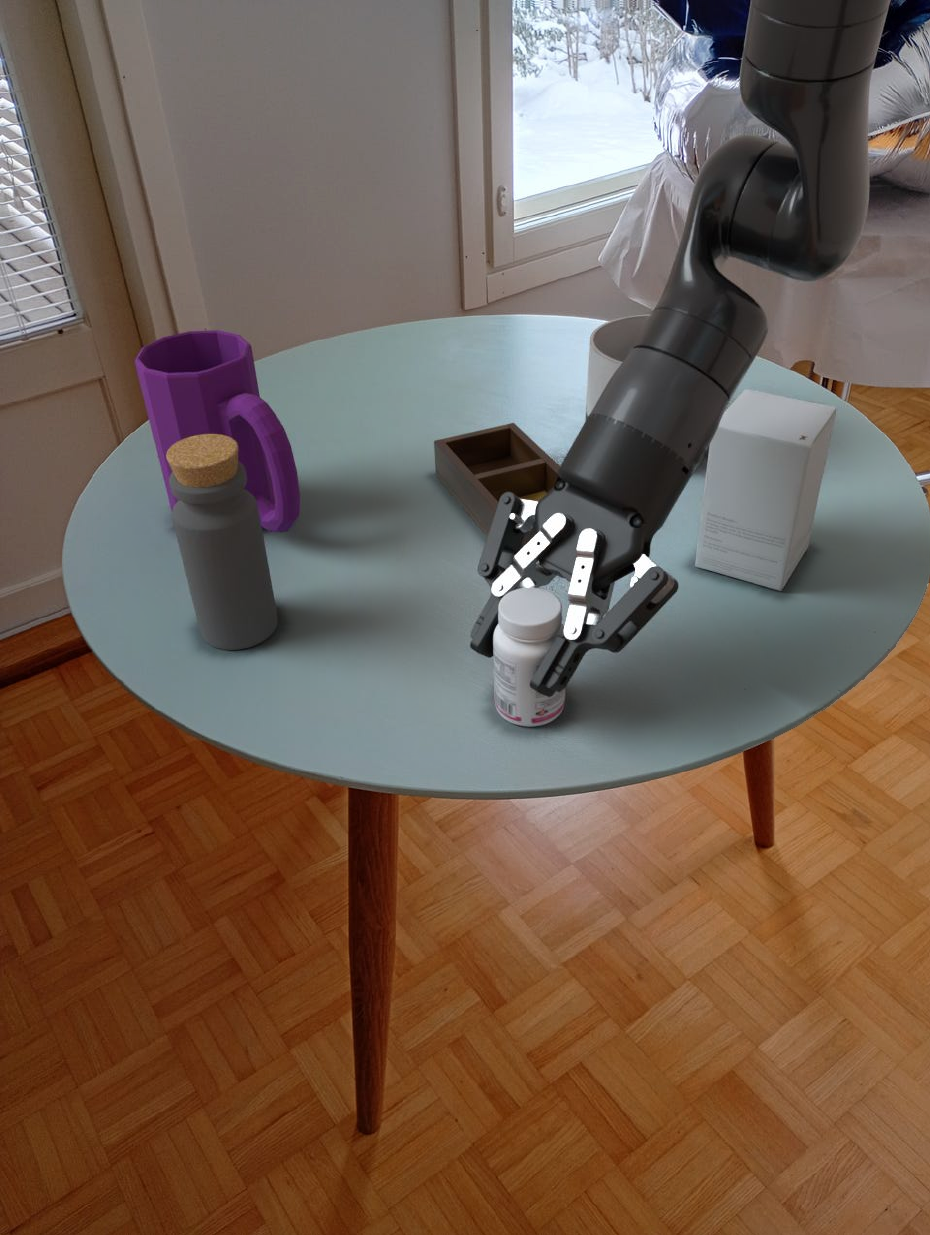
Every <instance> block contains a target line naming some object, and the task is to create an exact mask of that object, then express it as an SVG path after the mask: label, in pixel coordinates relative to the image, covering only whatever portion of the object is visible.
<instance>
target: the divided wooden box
mask: <svg viewBox="0 0 930 1235" xmlns="http://www.w3.org/2000/svg"><path fill="white" fill-rule="evenodd" d="M433 451H434V452H433V453H434V466H435V467H434V469H435V476H436V478H437V479H438V480H439V481H440V483H442V485H443V486H444V487H445V488H446V490H447V491H448V492H449V493H450V494H451V495H452V496H453V498H454V499H455V500H456V502H458V504H459V505H460V507H461V508H462V509H463V510H464V511H465V512H466V513H467V515H468V516H469V517H470V518H471V519H472V521H473V522H474V523H475V524H476V525H477V527H478V528H479V529H480V530H481V532H482V533H483V534H484V535H485V536H486V538H487V537H488V533H489V530H490V527H491V524H492V521H493V518H494V515H495V512H496V509H497V506H498V503H499V499H500V497H501V496H502V494H504V493H505V492H512V493H513V494H515V495H516V496H517V497H519V498H520V499H525V500H532V501H539V500H540V499H541V498H542V497H543V496H545V495H546V494H547V493H549V492H550V491H551V490H552V488H553V487H554V486H555V484H556V480H557V476H558V470H559V467H560V465H559V464H558V463H557V462H556V461H555V460H554V459H553V458H552V457H551V456H550V455H549V454H547V452H546V451H544V450H543V449H542V448H541V446H539V445H538V444H537V443H536V441H534V440H533V439H531V437H530V436H529V435H528V434H527V433H526V432H525V431H523V430H522V429H521V428H520V426H518V425H517V424H516V423H515V422H510V423H506V424H502V425H498V426H493V427H489V428H484V429H480V430H475V431H473V432H467V433H462V434H458V435H453V436H449V437H445V438H440V439H435V440H433ZM532 526H533V528H532V530H531V531H527V532H526V533H525V536H524V539H523V542H522V545H521V549H522V548H523V547H524V546H525V545H526V544H527V543H528V542H529V541H530V540H531V539H532V538H533V537H534V536H535V522H534V523H533V524H532ZM521 549H520V550H521Z"/></svg>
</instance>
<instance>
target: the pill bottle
mask: <svg viewBox="0 0 930 1235" xmlns="http://www.w3.org/2000/svg"><path fill="white" fill-rule="evenodd" d="M498 622H499V623H498V625H497V626H496V628H495V631H494V636H493V657H492V658H493V692H494V693H493V695H494V696H493V697H494V698H493V699H494V704H495V708H496V711H497V712H498V714H499V715H500V716H501V717H502V718H503V719H504V720H505V721H507V722H509V723H512V724H514V725H517V726H522V727H539V726H544V725H546V724H547V725H548V724H549V723H551V722H553V721H554V720H556V719H557V718H558V717H559V716H560V715H561V714H562V711H563V710H564V707H565V702H566V688H564V689H563V690H562V691H561V692H560V693H559V692H557V691H556V692H555V693H554V694H553V695H552V696H551V697H548V696H545V695H543V694H540V693H538V692H537V691H535V690H534V689H532V688H531V687H530V681H531V679H532V678H533V676H534V674H535V672H536V671H537V669H538V667H539V665H540V664H541V662H542V660H543V658H544V657H545V655H546V653H547V652H548V650H549V648H550V646H551V645H552V643H553V641H554V639H555V638H556V636H557V635H559V636H561V637H563V635H564V626H565V625H564V624H563V606H562V601H561V600H560V599H559V597H558V596H557V595H555V593H553V592H551V591H549V590H546V589H543V588H540V587H539V588H520V589H516V590H513V591H511V592H509V593H507V594H506V595H505V596H504V597H503V598H502V599H501V600H500V603H499V607H498Z"/></svg>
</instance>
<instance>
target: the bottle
mask: <svg viewBox="0 0 930 1235" xmlns="http://www.w3.org/2000/svg"><path fill="white" fill-rule="evenodd" d="M166 458H167V460H168V463H169V465H170V467H171V469H172V471H173V472H172V473H171V475H170V477H169V484H170V488H171V492H172V494H173V495H174V497H176V498H177V499H178V500H179V501H178V502H177V503H176V505H175V506H174V508H173V511H171V517H172V524H173V528H174V532H175V536H176V539H177V544H178V548H179V552H180V553H179V554H180V556H181V560H182V564H183V568H184V573H185V576H186V577H185V578H186V581H187V585H188V590H189V593H190V598H191V602H192V605H193V610H194V614H195V617H196V622H197V626H198V627H199V633H200V635H201V637H202V639H203V640H204V641H205V642H206V643H207V644H208V645H209V646H211V647H213V648H216V649H220V650H223V651H224V650H225V651H235V650H236V651H237V650H244V649H249V648H251V647H254V646H257V645H259V644H261V643H263V642H265V641H266V640H267V639H268V638H270V637H271V636H272V635H273V633H274V632H275V631H276V629H277V626H278V624H279V623H278V622H279V621H278V620H279V618H278V612H277V604H276V599H275V594H274V588H273V582H272V577H271V571H270V566H269V560H268V555H267V554H268V553H267V550H266V542H265V537H264V532H263V527H262V526H261V521H260V516H259V511H258V506H257V502H256V499H255V498H254V496H253V495H252V494H251V493H250V492H248V491H247V490H245V489H244V487H245V486H246V483H247V475H246V470H245V467H244V466H243V464H242V463H241V462H239V461H238V444H237V442H236V441H235V440H234V439H232V438H230V437H228V436H225V435H220V434H202V435H196V436H191V437H188V438H185V439H182V440H180V441H178V442H176V443H175V444H173V445H172V446H171V447H170V448H169V449H168V451H167V454H166Z"/></svg>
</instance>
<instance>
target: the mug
mask: <svg viewBox="0 0 930 1235" xmlns="http://www.w3.org/2000/svg"><path fill="white" fill-rule="evenodd" d="M254 359H255V358H254V354H253V348H252V344H250V343H249V342H248V341H247V340H246V339H245V338H244V337H243V336H242V335H241V334H237V333H234V332H228V331H224V330H218V329H213V330H211V329H210V330H188V331H185V332H181V333H176V334H171V335H167V336H163V337H160V338H159V339H157V340H155V341H153V342H151V343H149V344H147V345H144V346H143V347H142V348H141V349H140V351H139V353H138V354H137V356H136V358H135V360H134V365H135V367H136V373H137V377H138V380H139V385H140V389H141V393H142V397H143V401H144V404H145V408H146V409H145V410H146V414H147V418H148V421H149V426H150V429H151V433H152V437H153V438H152V439H153V442H154V445H155V450H156V453H157V454H156V455H157V458H158V463H159V466H160V470H161V474H162V479H163V482H164V486H165V490H166V495H167V498H168V502H169V507H170V510H171V512H172V511H173V508H174V506H175V505H176V503H177V502H178V501H179V500H178V499H177V498H176V497H174V495H173V494H172V492H171V488H170V484H169V477H170V475H171V473H172V472H173V471H172V469H171V467H170V465H169V463H168V460H167V458H166V454H167V451H168V449H169V448H170V447H171V446H172V445H173V444H175V443H176V442H178V441H180V440H182V439H185V438H188V437H191V436H196V435H202V434H220V435H225V436H228V437H230V438H232V439H234V440H235V441H236V442H237V444H238V461H239V462H241V463H242V464H243V466H244V467H245V470H246V475H247V483H246V486H245V487H244V489H245V490H247V491H248V492H250V493H251V494H252V495H253V496H254V498H255V499H256V502H257V506H258V511H259V516H260V521H261V527H262V529H263V528H264V529H266V530H267V531H269V532H272V533H286V532H288V531H289V530H291V528H293V526H294V525H295V523H296V522H297V520H298V518H300V513H301V490H300V482H299V475H298V468H297V465H296V461H295V457H294V453H293V449H292V444H291V441H290V440H289V437H288V434H287V432H286V430H285V427H284V426H283V425H282V422H281V421H280V419H279V418H278V416H277V415H276V412H275V411H274V410H273V409H272V407H271V405H269V403H268V402H267V401H265V400H264V399H263V398H262V397H261V395H260V390H259V384H258V378H257V372H256V365H255V360H254Z"/></svg>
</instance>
